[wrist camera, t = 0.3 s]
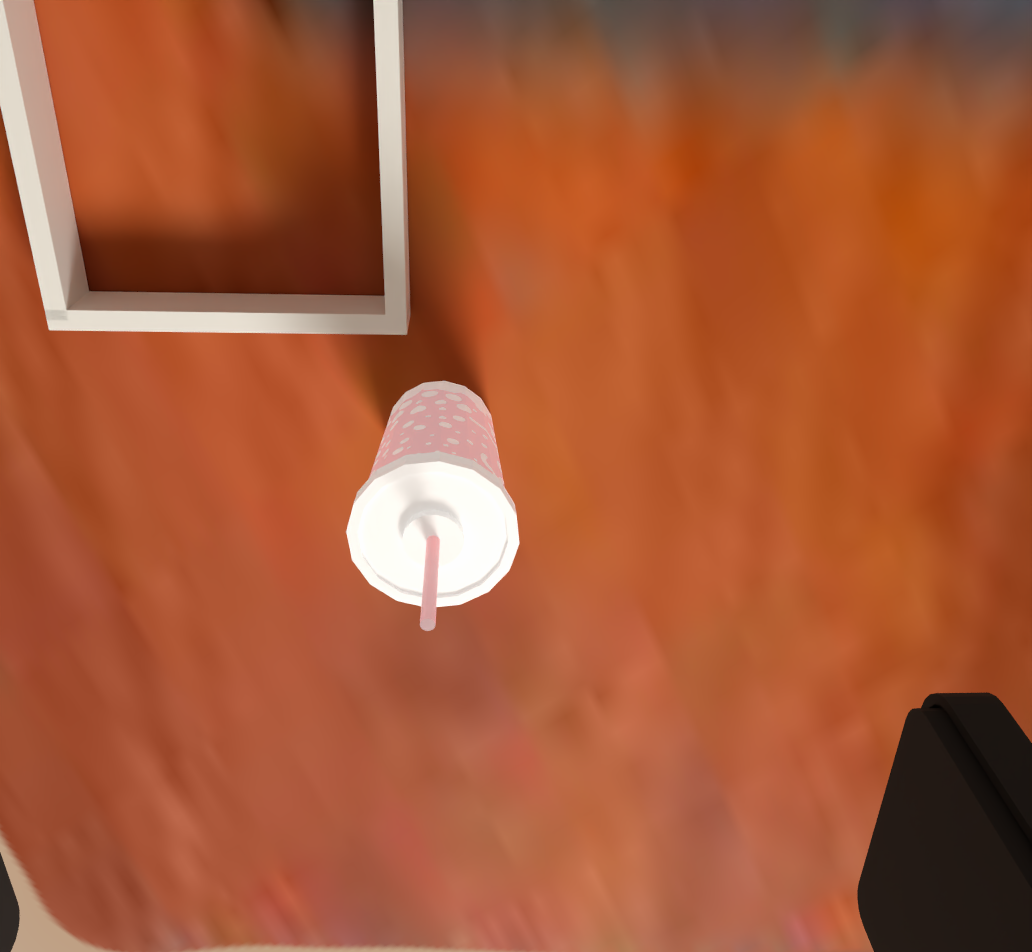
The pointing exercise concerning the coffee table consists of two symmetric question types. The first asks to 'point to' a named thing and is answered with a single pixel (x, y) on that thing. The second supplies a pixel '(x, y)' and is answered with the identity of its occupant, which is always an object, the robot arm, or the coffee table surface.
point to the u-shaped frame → (71, 306)
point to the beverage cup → (435, 503)
